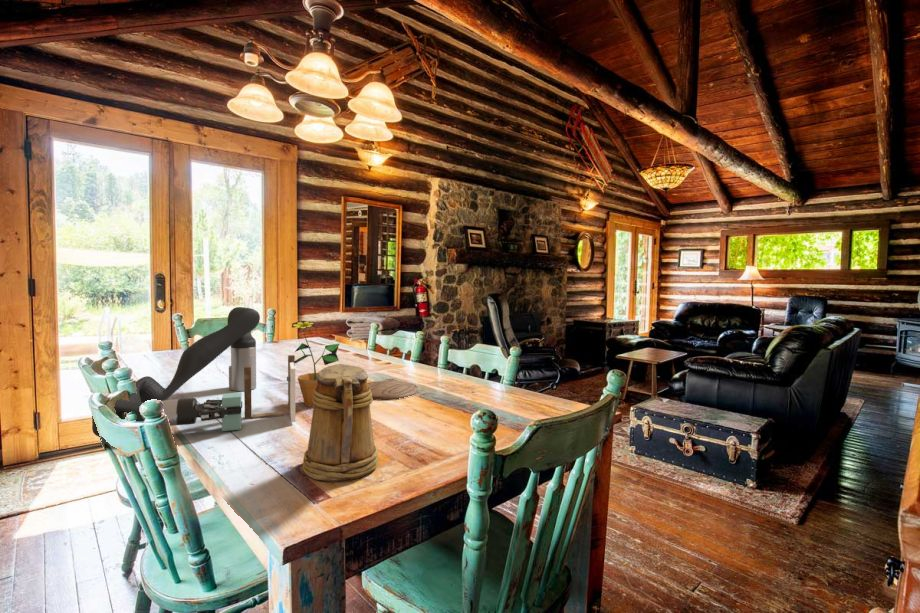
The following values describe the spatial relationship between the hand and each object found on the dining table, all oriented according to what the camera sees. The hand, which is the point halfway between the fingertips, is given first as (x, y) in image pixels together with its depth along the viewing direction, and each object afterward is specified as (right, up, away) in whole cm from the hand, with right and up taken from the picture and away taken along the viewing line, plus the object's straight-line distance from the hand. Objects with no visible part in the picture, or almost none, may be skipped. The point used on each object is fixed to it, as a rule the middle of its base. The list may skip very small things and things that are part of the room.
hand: (241, 407), depth 139 cm
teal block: (-3, -6, -1) cm, 7 cm away
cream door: (+12, -5, +9) cm, 16 cm away
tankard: (+38, -10, -27) cm, 48 cm away
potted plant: (+14, -5, +28) cm, 32 cm away
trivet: (+37, -5, +47) cm, 60 cm away
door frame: (+3, -6, +13) cm, 14 cm away
